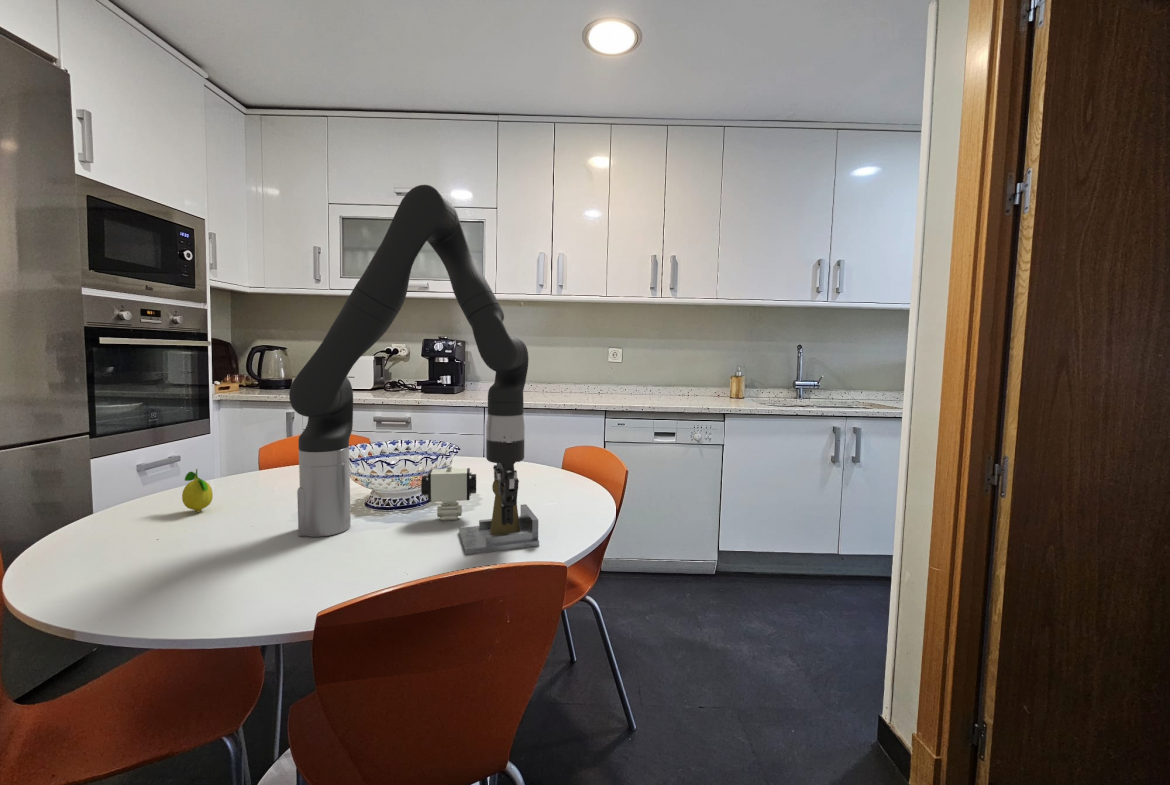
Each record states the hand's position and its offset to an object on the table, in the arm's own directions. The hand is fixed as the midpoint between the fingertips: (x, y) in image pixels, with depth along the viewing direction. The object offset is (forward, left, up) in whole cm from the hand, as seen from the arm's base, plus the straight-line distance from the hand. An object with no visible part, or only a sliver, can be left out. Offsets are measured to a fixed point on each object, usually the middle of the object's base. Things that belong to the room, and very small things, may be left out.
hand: (505, 520), depth 100 cm
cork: (0, 0, -3) cm, 3 cm away
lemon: (-63, +37, -4) cm, 74 cm away
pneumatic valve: (-9, +16, -4) cm, 19 cm away
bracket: (-1, 0, -4) cm, 4 cm away
